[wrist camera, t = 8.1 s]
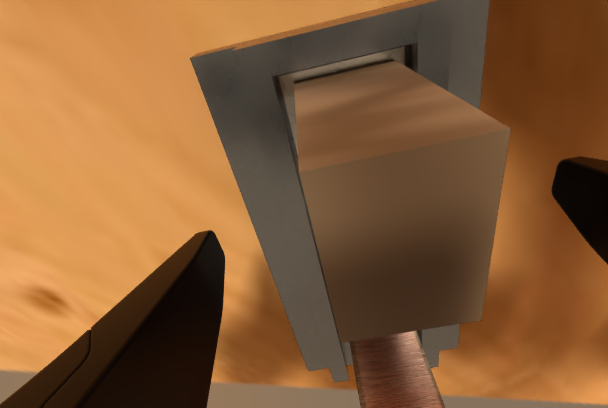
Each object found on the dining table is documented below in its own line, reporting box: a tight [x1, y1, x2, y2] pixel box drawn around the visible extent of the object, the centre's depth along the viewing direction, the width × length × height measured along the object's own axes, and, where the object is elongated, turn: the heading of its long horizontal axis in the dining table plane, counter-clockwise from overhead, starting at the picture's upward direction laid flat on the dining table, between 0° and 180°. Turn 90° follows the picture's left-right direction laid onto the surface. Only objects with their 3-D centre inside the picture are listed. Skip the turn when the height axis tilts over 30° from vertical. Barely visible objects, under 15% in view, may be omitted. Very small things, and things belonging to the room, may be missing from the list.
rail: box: [190, 0, 490, 408], centre depth 13 cm, size 10×20×8 cm, turn 12°
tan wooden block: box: [294, 59, 511, 343], centre depth 10 cm, size 4×6×7 cm, turn 12°
